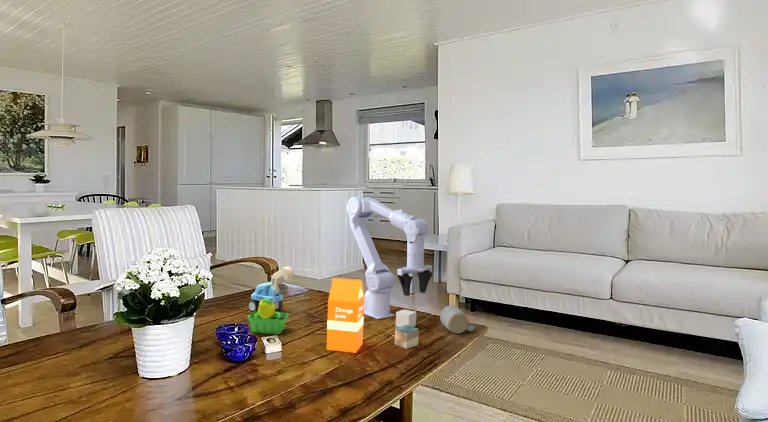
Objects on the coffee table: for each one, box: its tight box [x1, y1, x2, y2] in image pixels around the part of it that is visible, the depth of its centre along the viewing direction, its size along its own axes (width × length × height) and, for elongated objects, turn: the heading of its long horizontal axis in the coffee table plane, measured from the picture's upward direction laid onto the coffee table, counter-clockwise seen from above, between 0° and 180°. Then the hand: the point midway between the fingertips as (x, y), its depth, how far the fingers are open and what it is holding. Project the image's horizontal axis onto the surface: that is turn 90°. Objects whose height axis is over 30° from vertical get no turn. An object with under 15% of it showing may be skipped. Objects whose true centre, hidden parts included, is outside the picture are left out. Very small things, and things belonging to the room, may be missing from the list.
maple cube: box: [394, 325, 420, 350], centre depth 140 cm, size 5×5×5 cm
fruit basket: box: [247, 298, 290, 335], centre depth 148 cm, size 11×9×11 cm
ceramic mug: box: [439, 304, 476, 335], centre depth 155 cm, size 11×8×8 cm
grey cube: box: [395, 308, 417, 328], centre depth 158 cm, size 5×5×5 cm
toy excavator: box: [247, 266, 295, 312], centre depth 169 cm, size 9×17×17 cm, turn 60°
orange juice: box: [326, 277, 365, 354], centre depth 136 cm, size 8×9×20 cm
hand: (414, 294), depth 160 cm, fingers open, 7 cm apart
